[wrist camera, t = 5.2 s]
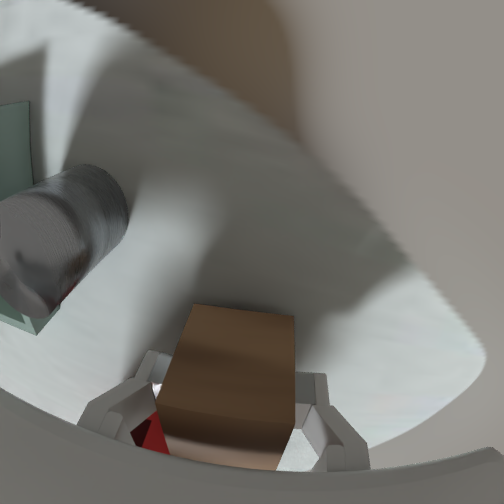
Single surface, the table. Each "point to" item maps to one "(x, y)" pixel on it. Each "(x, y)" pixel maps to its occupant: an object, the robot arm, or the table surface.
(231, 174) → the table surface
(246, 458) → the walnut block
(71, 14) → the table surface
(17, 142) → the tray
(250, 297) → the table surface
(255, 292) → the table surface
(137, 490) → the robot arm
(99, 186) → the metal peg
